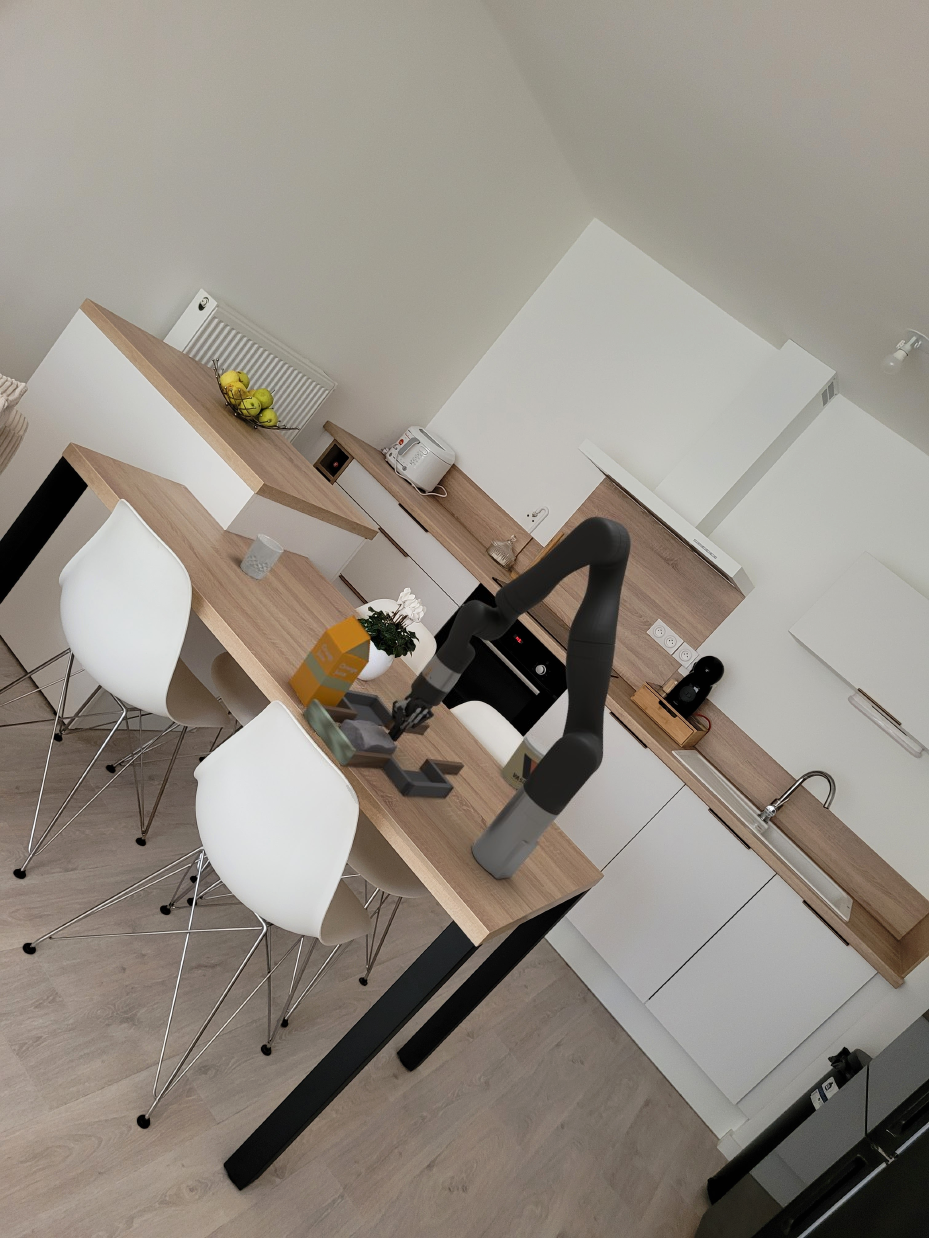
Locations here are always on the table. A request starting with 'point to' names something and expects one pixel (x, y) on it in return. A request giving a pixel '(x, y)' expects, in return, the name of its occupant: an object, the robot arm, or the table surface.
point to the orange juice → (333, 664)
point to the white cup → (261, 556)
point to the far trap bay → (366, 707)
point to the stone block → (368, 737)
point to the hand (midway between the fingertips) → (390, 738)
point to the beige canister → (524, 761)
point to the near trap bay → (418, 780)
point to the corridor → (344, 751)
